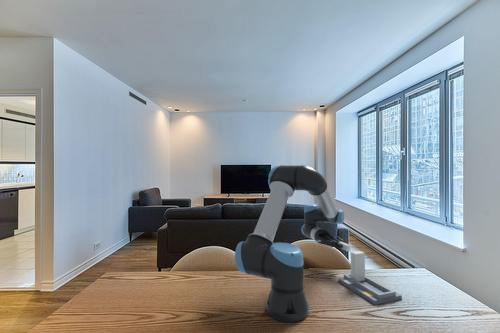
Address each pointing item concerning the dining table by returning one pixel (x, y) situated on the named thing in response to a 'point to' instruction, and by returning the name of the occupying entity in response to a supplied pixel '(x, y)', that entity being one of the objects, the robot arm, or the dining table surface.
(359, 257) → the switch tab
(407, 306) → the dining table surface
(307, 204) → the robot arm
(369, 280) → the switch board
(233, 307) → the dining table surface
